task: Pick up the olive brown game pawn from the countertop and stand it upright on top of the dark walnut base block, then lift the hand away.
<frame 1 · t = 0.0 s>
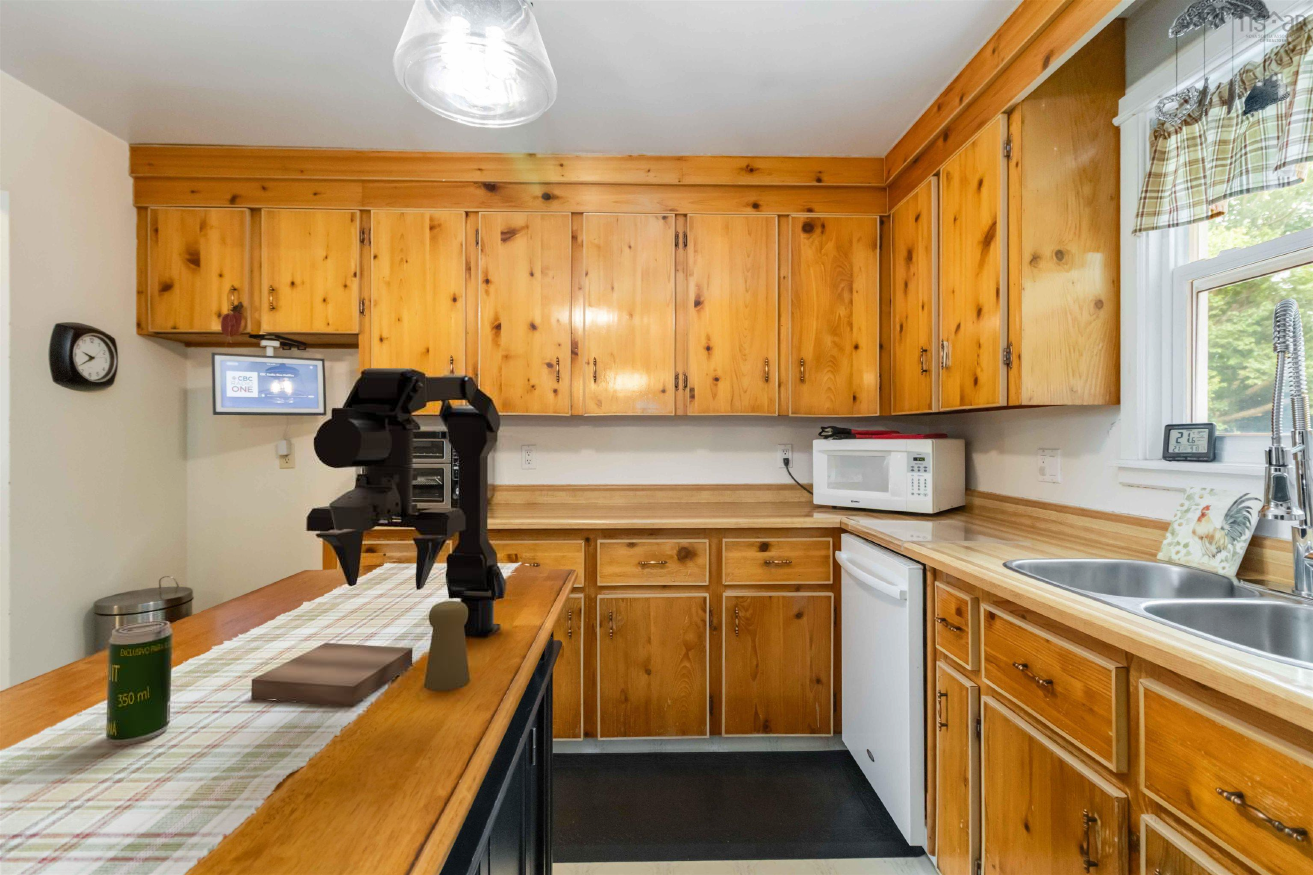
hand: (385, 587, 75), 15 cm above the counter, tool pointing down, fingers open, 9 cm apart
walnut base: (337, 680, 81), on the counter
olive brown game pawn: (447, 683, 81), on the counter
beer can: (138, 736, 65), on the counter
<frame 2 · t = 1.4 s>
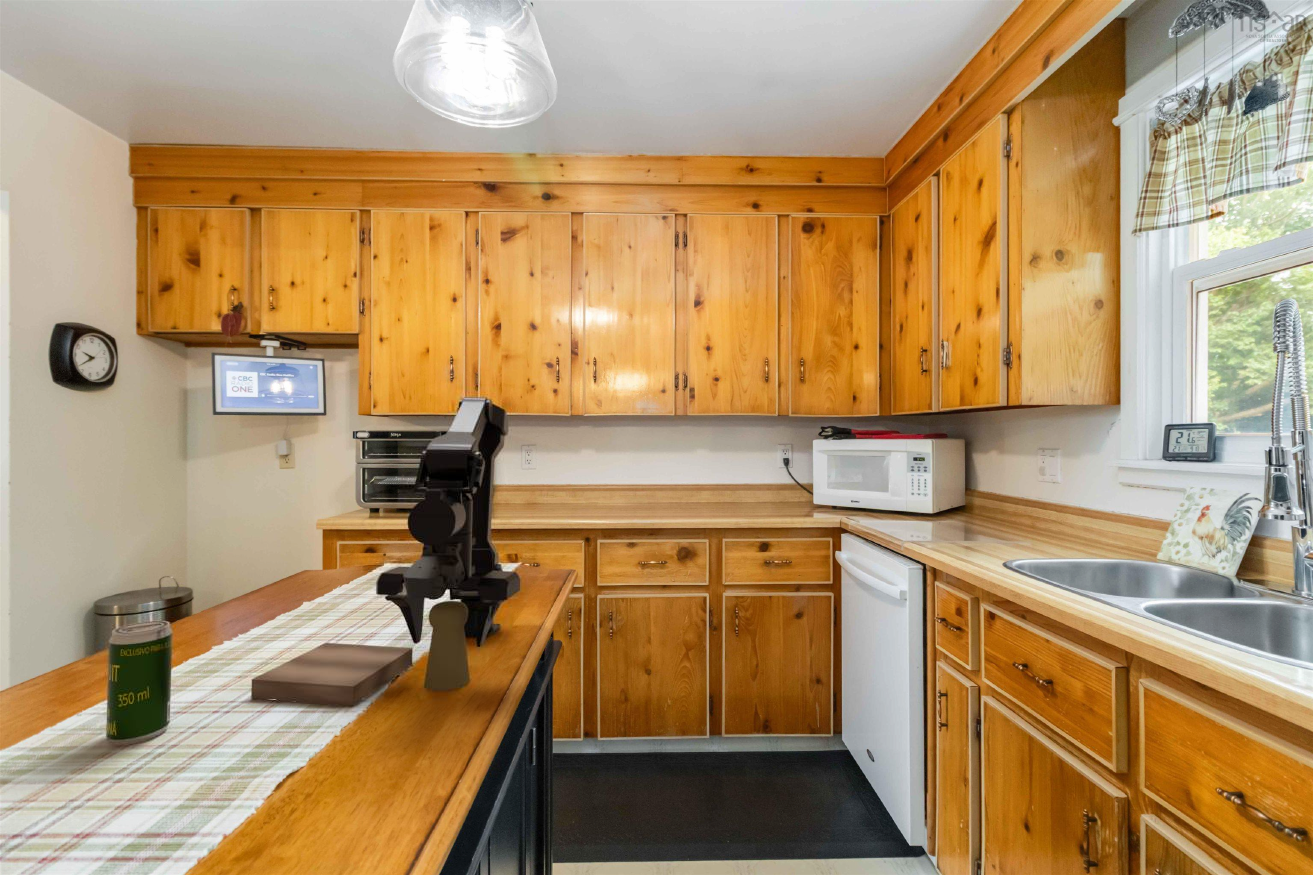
hand: (448, 644, 81), 5 cm above the counter, tool pointing down, fingers open, 9 cm apart
nothing on the counter moved.
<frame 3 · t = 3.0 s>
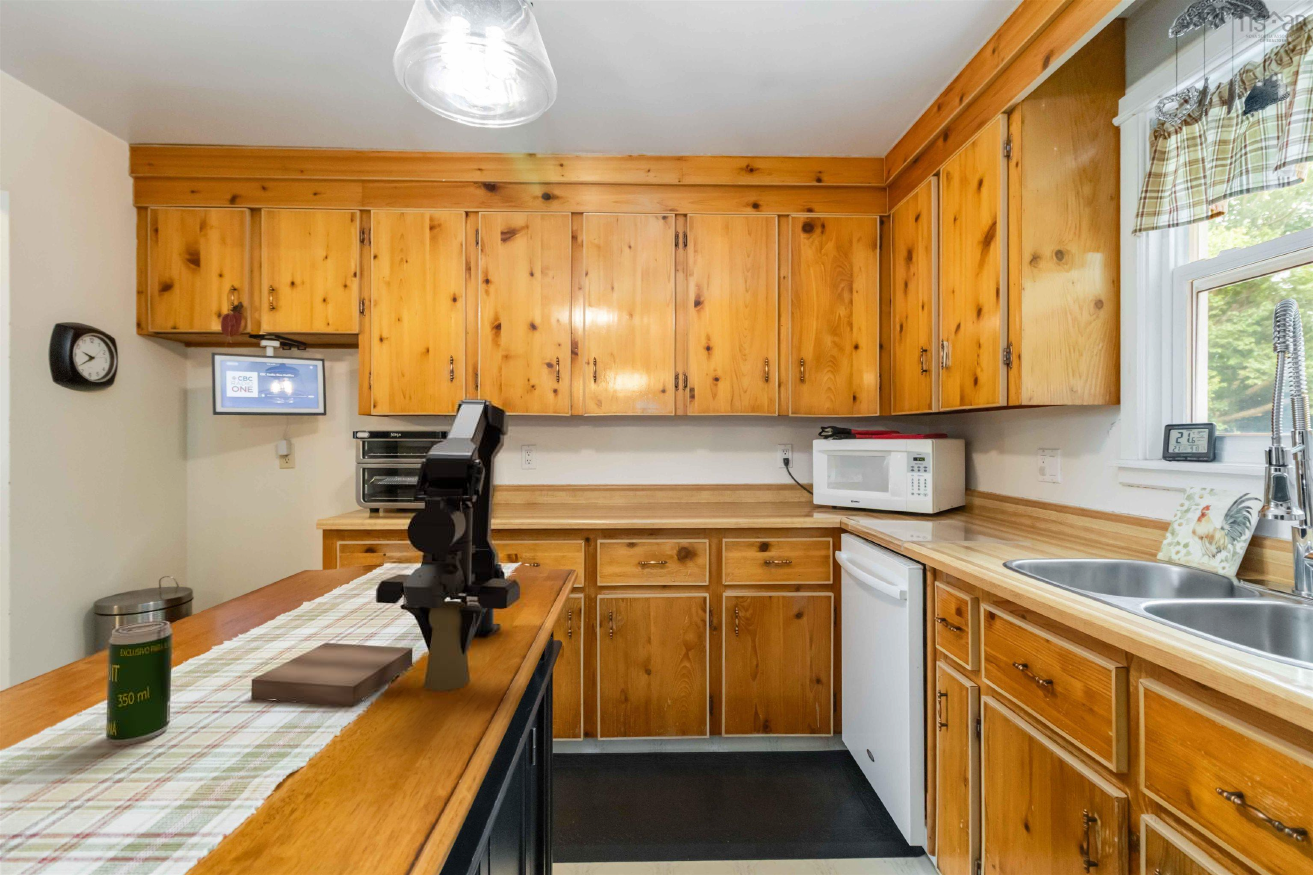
hand: (447, 652, 81), 4 cm above the counter, tool pointing down, fingers closed on olive brown game pawn, 4 cm apart
olive brown game pawn: (447, 683, 81), on the counter, touching gripper
everything else where it was.
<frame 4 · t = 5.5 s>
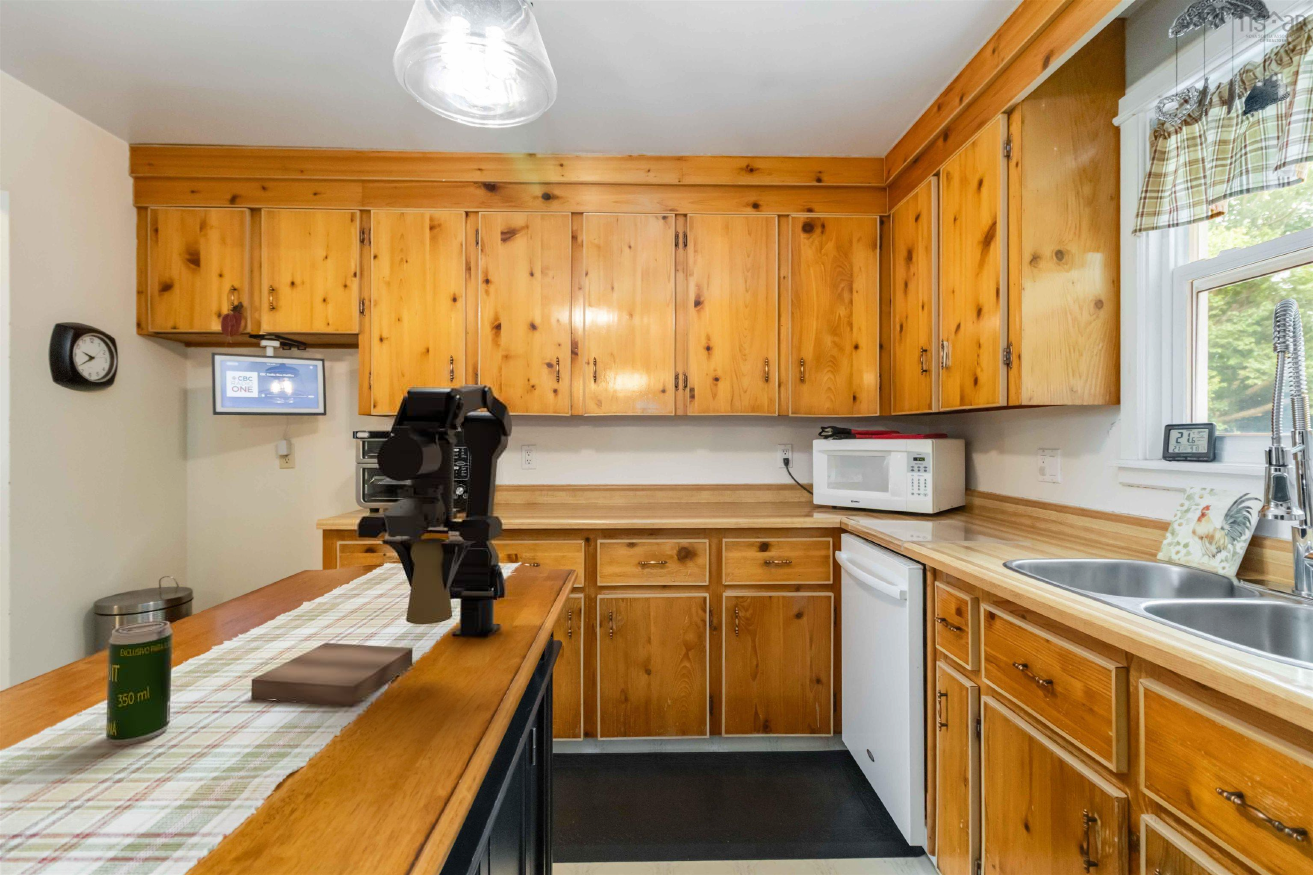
hand: (429, 588, 81), 13 cm above the counter, tool pointing down, fingers closed on olive brown game pawn, 4 cm apart
olive brown game pawn: (429, 618, 81), point 9 cm above the counter, touching gripper
everything else where it was.
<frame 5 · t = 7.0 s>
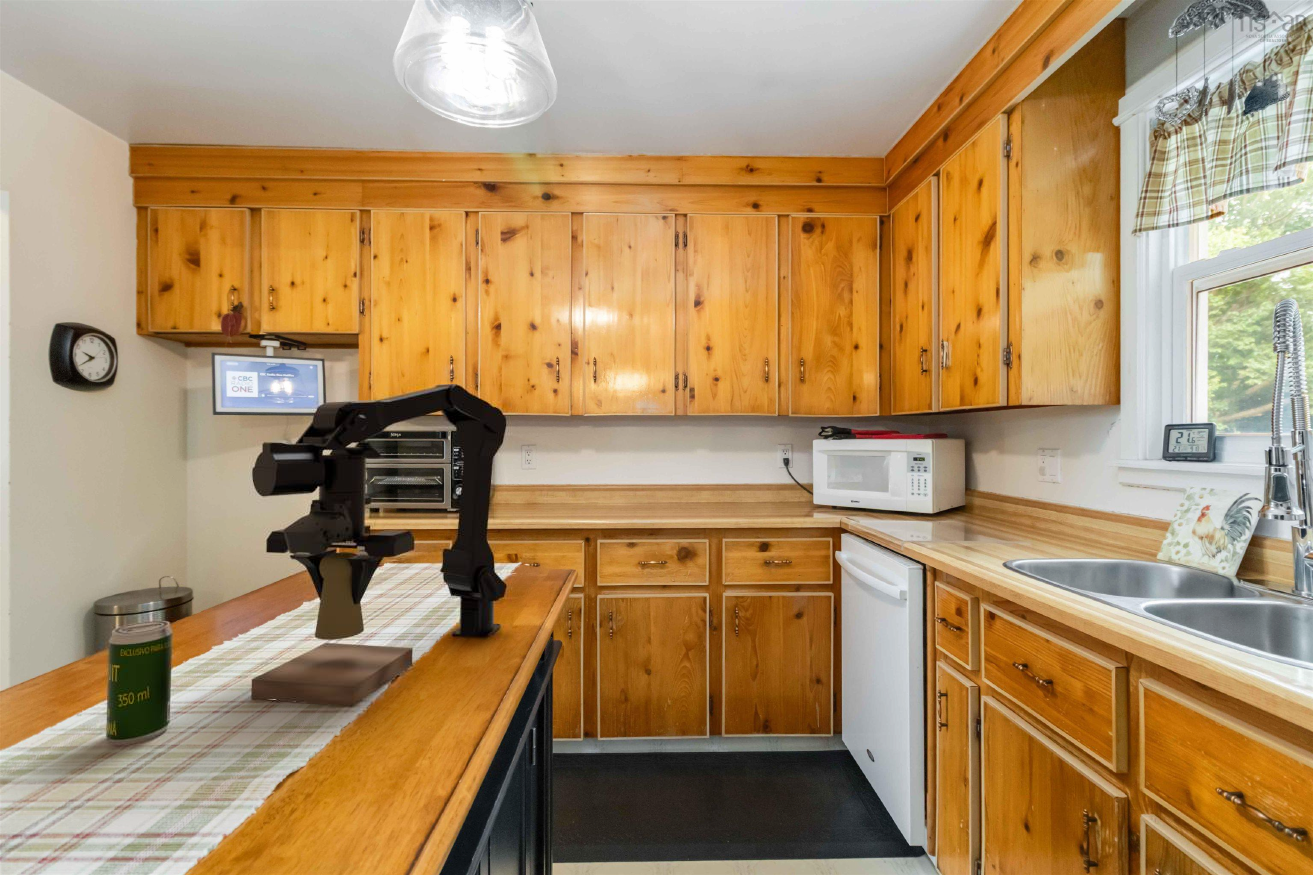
hand: (340, 603, 81), 11 cm above the counter, tool pointing down, fingers closed on olive brown game pawn, 4 cm apart
olive brown game pawn: (339, 633, 81), point 6 cm above the counter, touching gripper
everything else where it was.
when the fingers open (7 cm above the counter, at t = 8.4 s): olive brown game pawn stays where it is, resting on walnut base.
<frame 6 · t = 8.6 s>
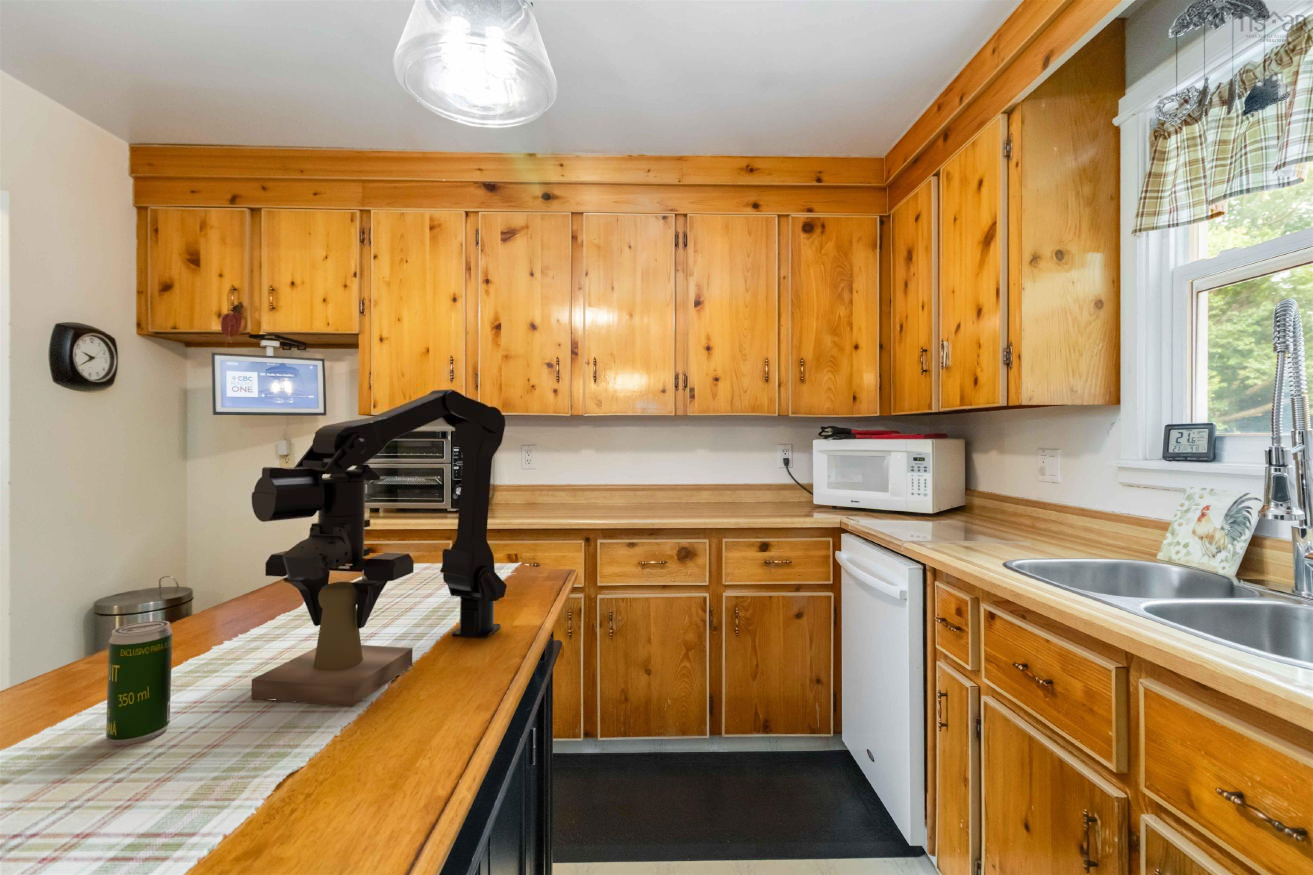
hand: (339, 626, 81), 7 cm above the counter, tool pointing down, fingers open, 6 cm apart
olive brown game pawn: (338, 663, 81), point 2 cm above the counter, touching walnut base
everything else where it was.
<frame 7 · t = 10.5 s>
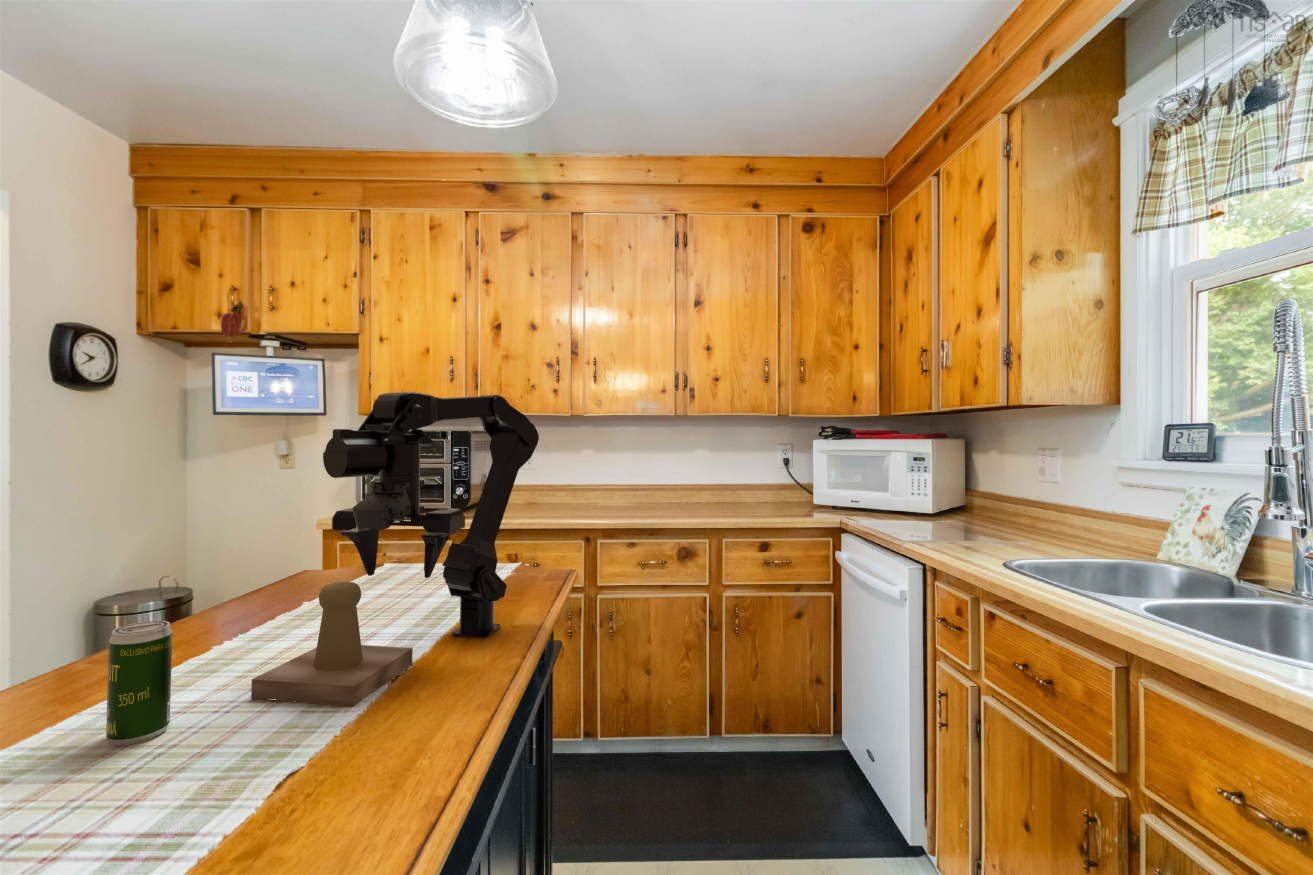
hand: (399, 576, 89), 13 cm above the counter, tool pointing down, fingers open, 9 cm apart
nothing on the counter moved.
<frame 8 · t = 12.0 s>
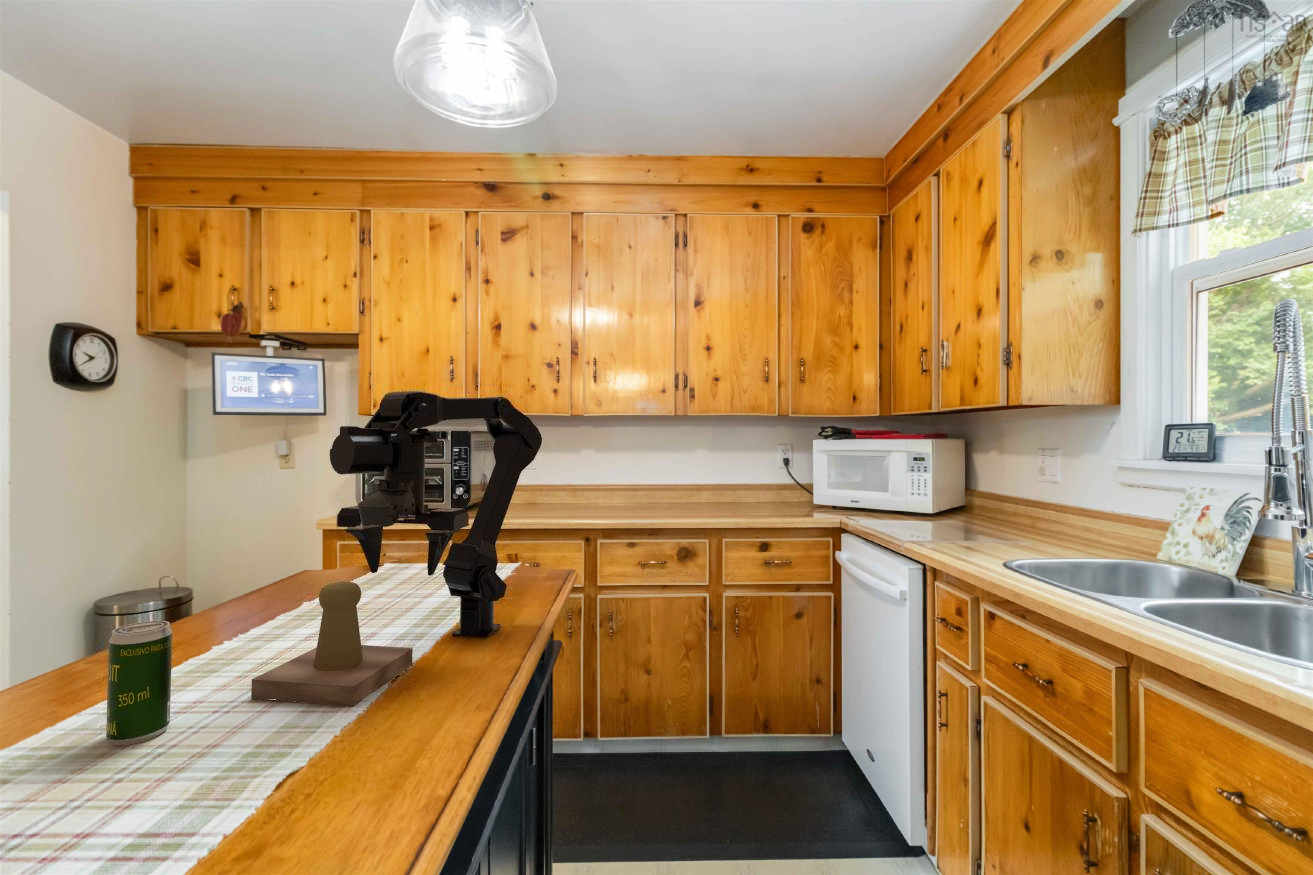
hand: (402, 573, 89), 13 cm above the counter, tool pointing down, fingers open, 9 cm apart
nothing on the counter moved.
at the end: olive brown game pawn inside the target area on the walnut base (0.1 cm from its centre), point 2.3 cm above the walnut base's base; olive brown game pawn tilted 0°; the gripper is holding nothing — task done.
